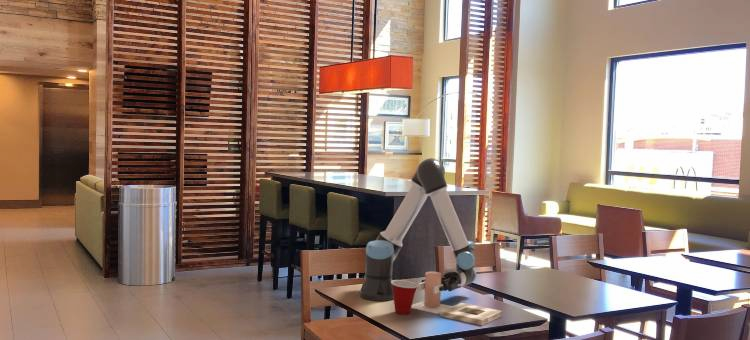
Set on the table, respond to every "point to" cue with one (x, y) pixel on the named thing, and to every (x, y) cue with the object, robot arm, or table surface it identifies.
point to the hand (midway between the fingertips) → (426, 288)
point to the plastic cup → (403, 295)
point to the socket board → (482, 318)
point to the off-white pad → (429, 309)
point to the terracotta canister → (430, 282)
